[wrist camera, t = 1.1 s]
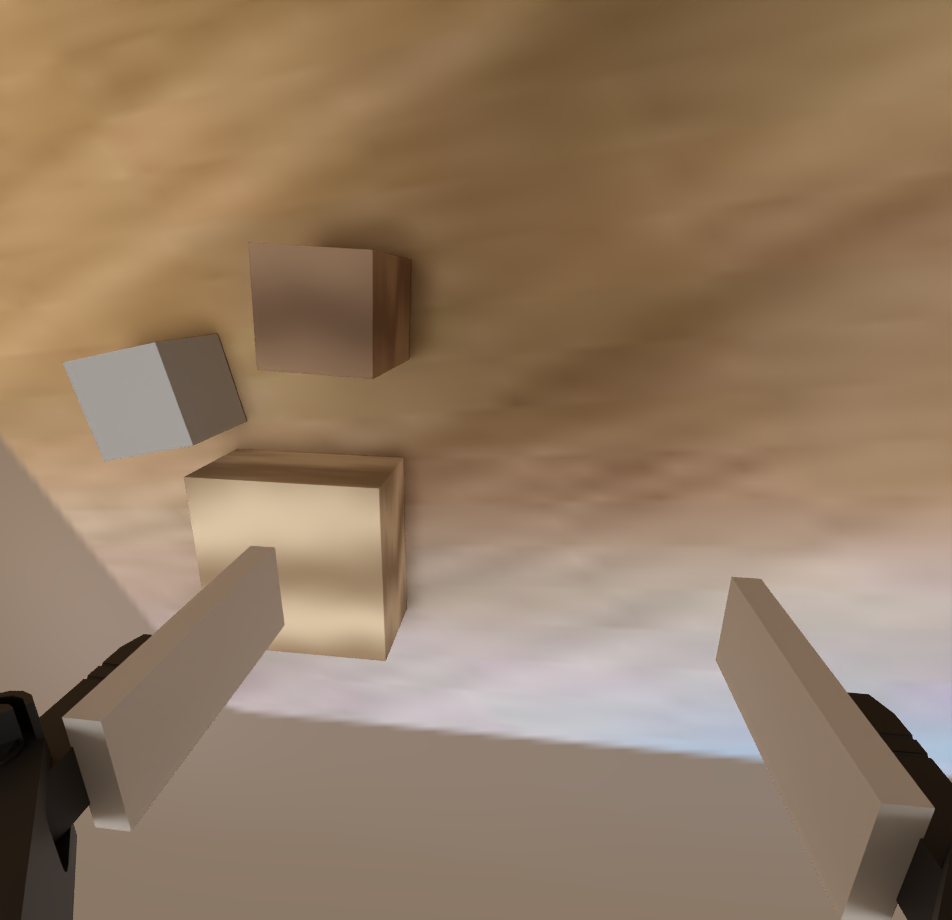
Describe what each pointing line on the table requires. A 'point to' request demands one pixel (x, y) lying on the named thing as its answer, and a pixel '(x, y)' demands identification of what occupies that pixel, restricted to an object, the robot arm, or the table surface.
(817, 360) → the table surface
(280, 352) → the walnut block
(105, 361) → the slate cube
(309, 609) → the birch block
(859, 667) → the table surface
